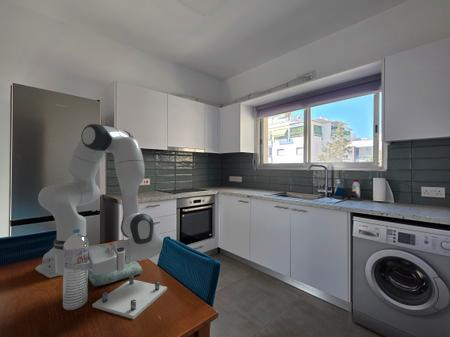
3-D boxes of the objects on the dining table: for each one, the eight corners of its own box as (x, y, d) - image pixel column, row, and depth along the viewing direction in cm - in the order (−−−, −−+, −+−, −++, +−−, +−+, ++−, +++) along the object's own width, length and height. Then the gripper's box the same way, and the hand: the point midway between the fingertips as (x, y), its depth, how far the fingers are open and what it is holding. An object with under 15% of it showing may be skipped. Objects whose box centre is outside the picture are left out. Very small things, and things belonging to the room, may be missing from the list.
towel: (125, 260, 107) (125, 250, 107) (142, 275, 92) (142, 263, 92) (83, 271, 95) (83, 260, 95) (94, 291, 79) (94, 277, 80)
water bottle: (83, 296, 76) (84, 225, 76) (90, 303, 72) (91, 229, 72) (60, 305, 71) (61, 230, 71) (66, 314, 66) (67, 233, 67)
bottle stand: (92, 306, 70) (92, 296, 70) (131, 281, 86) (131, 272, 86) (133, 319, 64) (133, 307, 64) (166, 289, 80) (167, 280, 80)
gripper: (113, 237, 87) (71, 244, 79) (124, 253, 71) (74, 264, 63) (113, 253, 87) (71, 261, 79) (124, 272, 71) (73, 285, 63)
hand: (72, 263), depth 71 cm, fingers closed on water bottle, 7 cm apart
